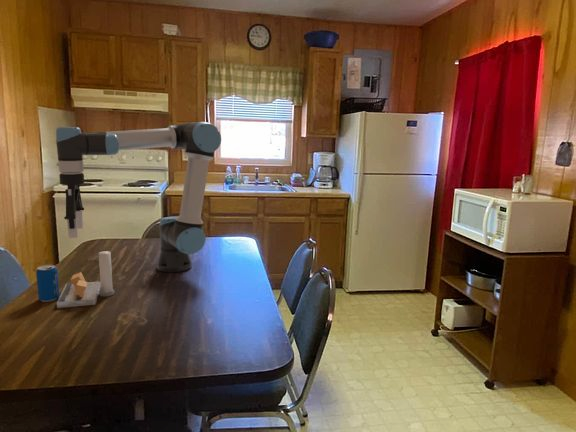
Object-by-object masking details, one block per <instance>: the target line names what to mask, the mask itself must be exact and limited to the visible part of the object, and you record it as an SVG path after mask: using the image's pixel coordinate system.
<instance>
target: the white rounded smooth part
mask: <svg viewBox="0 0 576 432" xmlns="http://www.w3.org/2000/svg"><path fill="white" fill-rule="evenodd" d="M111 255H112V254H111V251H109V250H105V251H100V252H98V265H99V267H98V268H99V280H100V285H101V287H100V290H99V294H98V296H100V297H101V298H106V297H112V296H114V295H115V291H116V290H114V289H113V287H114V286H113V273H112V272H113V270H112V256H111Z"/></svg>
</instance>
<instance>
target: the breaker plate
mask: <svg viewBox="0 0 576 432" xmlns="http://www.w3.org/2000/svg"><path fill="white" fill-rule="evenodd" d="M87 282H88V283H87V286H86V289H85V292H84V294H83V297H79V298H76V296H73V295H74V292H75V287H74V285H73V283H65V285H64V287H63V289H62V291H61V293H60V294H59V297H58V298H57V300H56V308H57V309H60V308H62V309H63V308H73V307H74V308H75V307H82V306H83V307H84V306H94V305H97V302H98V301H97V300H98V297H99V292H100V291H101V284H100V281H91V282H89V281H87Z"/></svg>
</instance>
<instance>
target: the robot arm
mask: <svg viewBox="0 0 576 432" xmlns="http://www.w3.org/2000/svg"><path fill="white" fill-rule="evenodd" d="M55 144H56V149H57V150H56V152H57V160H58V161H57V163H56V166H57V167H58V172H59V175H58V176H59V184H60V185H62V186H67V188H65V190H64V191H65V216H64V220H67V223H66V224H67V232H68V239H72V238H75V239H77V238H78V237H79V235H78V234H79V232H78V229H84V218H83V211H85V207H83V201H82V195H81V188H80V186H81V185H84V184H85V174H84V173H83V172H84V171H85V170H84V160H83V157H84V156H110V155H111V156H112V155H117V154H118V153H119V151H129V150H130V151H131V150H142V149H154V148H166V147H169V148H171V149H173V150H174V149H185V150H184V153H185V155H186V156H187V164H186V171H185V176H184V181H183V182H184V183H183V189H182V198H181V203H180V211H179V215H178V216H168V217H162V218H161V219H160V220H159V225H158V226H159V241H160V242H159V246H160V248H159V249H160V251H159V255H158V258H157V261H156V270H158V271H159V272H163V273H181V272H185V271H188V270H190V269H191V268H192V267H193V266H192V264H193V263H192V259H191V256H190V255H194V254H197V253H198V252H199V251H201V250H202V249H203V248H204V246H205V244H206V234H205V232H204V230H203V228H204V221H203V220H202V218H201V217H202V211H203V204H204V199H205V198H204V197H205V191H206V186H207V185H206V183H207V179H208V178H207V177H208V172H209V165H210V161H212V160H213V159H215V158H214V157H215V152H216V151H217V150H218V149H219V148H220V146H221V144H222V135H221V133H220V130H219V128H218V127H217V126H216V125H215V124H213V123H210V122H206V121H196V122H195V121H192V122H191V121H190V122H185V123H181V124H174V125H168V126H167V127H166V128H165V127H164V128H163V127H162V128H147V129H129V130H115V131H111V130H110V131H100V132H99V131H98V132H97V131H96V132H91V131H89V132H82V131H81V128H80V127H75V126H73V127H72V126H70V127H68V126H59V127H57V128H56V130H55Z"/></svg>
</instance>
